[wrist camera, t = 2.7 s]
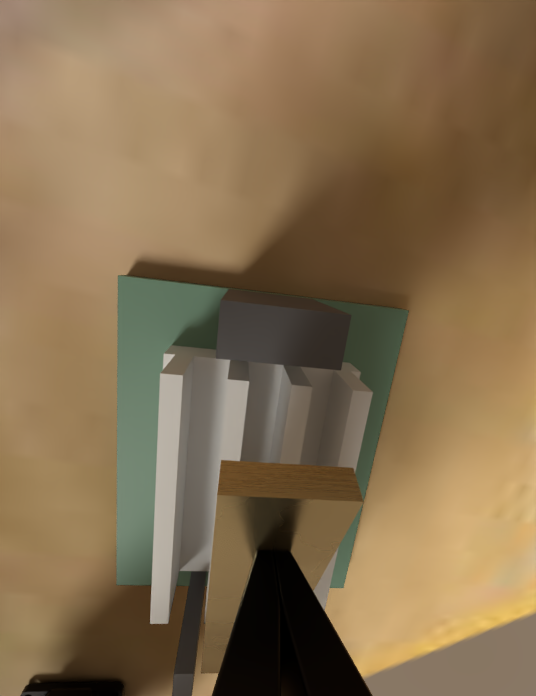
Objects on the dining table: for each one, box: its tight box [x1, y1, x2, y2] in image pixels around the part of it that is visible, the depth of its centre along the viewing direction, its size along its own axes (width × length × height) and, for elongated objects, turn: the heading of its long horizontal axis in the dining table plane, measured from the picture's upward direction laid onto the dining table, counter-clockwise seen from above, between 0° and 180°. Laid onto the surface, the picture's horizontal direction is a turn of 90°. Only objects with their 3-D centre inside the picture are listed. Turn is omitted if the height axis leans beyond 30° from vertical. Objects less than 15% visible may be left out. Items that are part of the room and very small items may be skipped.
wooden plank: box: [201, 460, 364, 673], centre depth 10 cm, size 14×3×1 cm, turn 171°
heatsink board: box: [116, 275, 409, 696], centre depth 14 cm, size 18×14×6 cm
